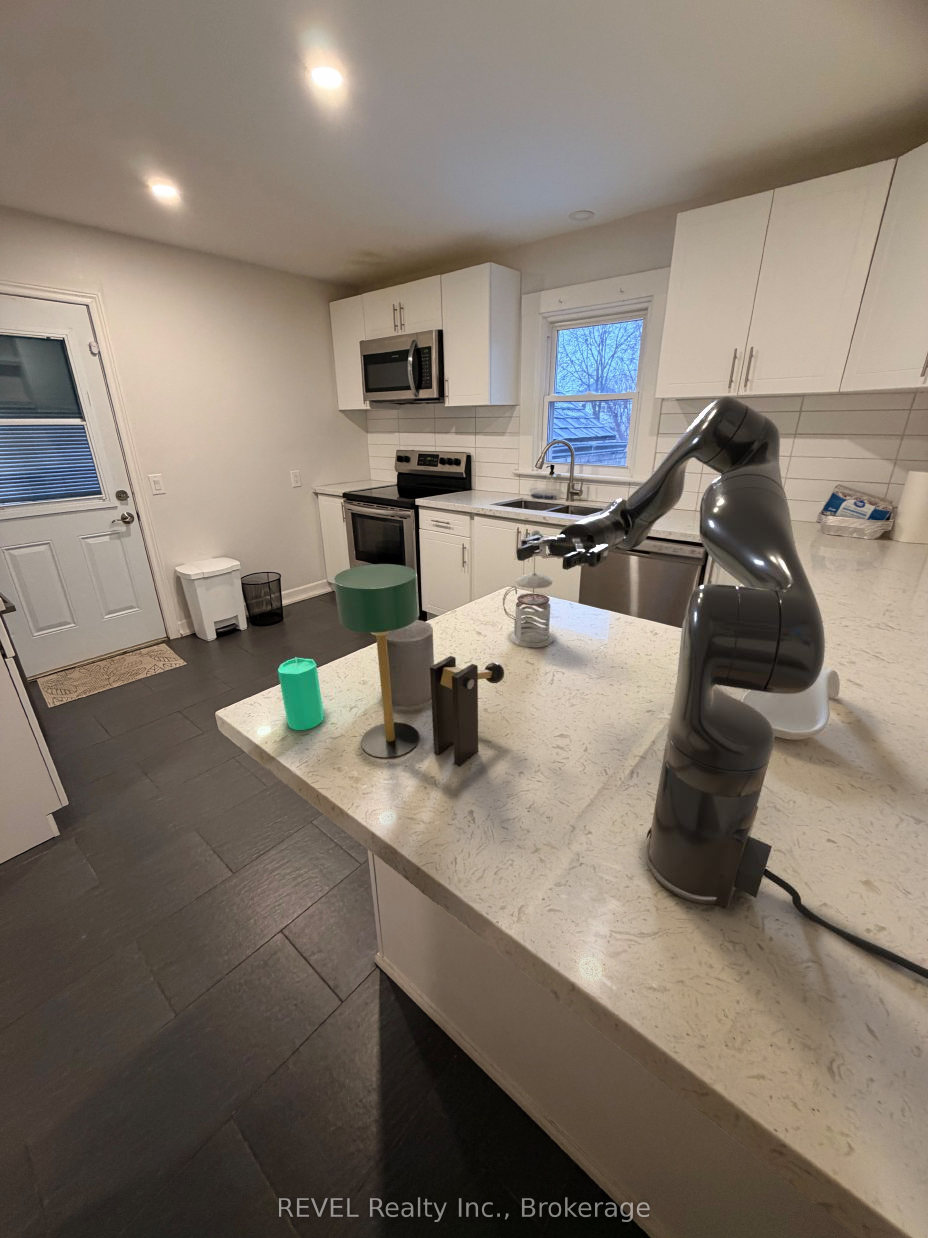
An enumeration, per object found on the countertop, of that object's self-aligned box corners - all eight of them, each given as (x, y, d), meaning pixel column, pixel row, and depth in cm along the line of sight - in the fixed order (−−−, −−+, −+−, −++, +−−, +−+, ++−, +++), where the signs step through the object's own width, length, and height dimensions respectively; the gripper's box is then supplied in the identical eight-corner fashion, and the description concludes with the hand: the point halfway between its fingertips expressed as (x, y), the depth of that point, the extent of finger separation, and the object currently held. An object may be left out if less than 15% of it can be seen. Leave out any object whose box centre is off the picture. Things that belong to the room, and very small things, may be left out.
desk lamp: (459, 752, 75) (455, 578, 65) (407, 792, 68) (393, 601, 57) (393, 718, 84) (379, 559, 74) (340, 750, 76) (316, 578, 66)
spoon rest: (803, 761, 72) (816, 720, 69) (723, 725, 81) (732, 687, 78) (859, 706, 85) (872, 669, 83) (785, 679, 94) (794, 645, 91)
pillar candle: (373, 696, 91) (365, 621, 85) (416, 679, 97) (412, 607, 91) (402, 719, 84) (396, 639, 78) (447, 699, 90) (444, 623, 84)
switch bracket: (459, 729, 81) (457, 642, 75) (504, 751, 76) (505, 659, 70) (406, 768, 72) (399, 673, 66) (453, 795, 67) (449, 694, 61)
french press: (556, 647, 109) (563, 535, 99) (503, 647, 109) (505, 535, 99) (550, 629, 118) (555, 524, 108) (501, 629, 118) (502, 525, 108)
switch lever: (489, 679, 79) (493, 659, 79) (505, 685, 77) (510, 665, 77) (436, 685, 69) (441, 663, 68) (454, 693, 67) (458, 670, 66)
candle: (313, 732, 81) (303, 667, 76) (280, 728, 82) (268, 664, 78) (329, 711, 87) (321, 650, 82) (298, 708, 88) (288, 647, 83)
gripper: (554, 515, 94) (505, 530, 82) (626, 523, 85) (583, 542, 74) (552, 553, 97) (504, 573, 85) (622, 565, 88) (579, 589, 77)
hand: (541, 559), depth 80 cm, fingers open, 8 cm apart
